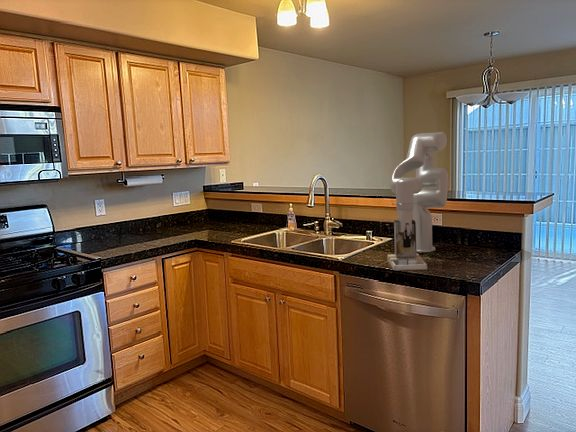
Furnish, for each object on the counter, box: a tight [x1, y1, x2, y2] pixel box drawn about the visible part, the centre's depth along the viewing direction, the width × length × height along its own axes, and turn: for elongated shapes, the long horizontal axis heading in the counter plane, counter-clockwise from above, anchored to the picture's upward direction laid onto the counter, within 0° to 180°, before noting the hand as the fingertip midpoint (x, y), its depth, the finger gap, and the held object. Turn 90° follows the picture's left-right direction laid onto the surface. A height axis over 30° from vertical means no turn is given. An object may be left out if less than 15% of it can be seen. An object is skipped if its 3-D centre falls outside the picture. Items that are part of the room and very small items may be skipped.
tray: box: [390, 260, 428, 272], centre depth 195 cm, size 8×14×2 cm, turn 87°
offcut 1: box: [397, 258, 407, 265], centre depth 197 cm, size 4×4×4 cm
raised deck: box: [387, 252, 424, 266], centre depth 204 cm, size 10×14×3 cm
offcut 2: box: [407, 258, 417, 265], centre depth 196 cm, size 4×4×4 cm
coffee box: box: [393, 219, 418, 257], centre depth 201 cm, size 9×6×16 cm
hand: (405, 245), depth 202 cm, fingers closed on coffee box, 6 cm apart
